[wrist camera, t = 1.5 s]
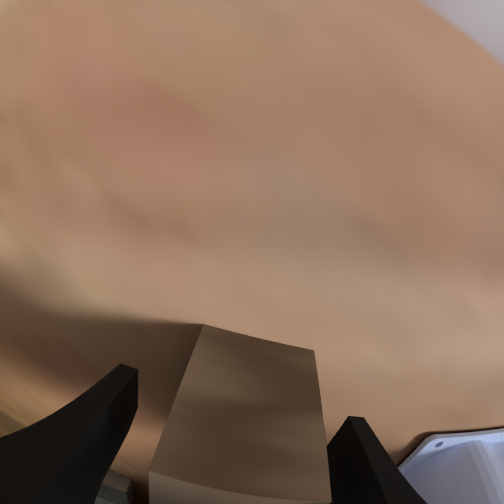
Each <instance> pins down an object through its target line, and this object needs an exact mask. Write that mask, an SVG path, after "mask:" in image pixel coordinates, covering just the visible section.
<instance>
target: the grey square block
mask: <svg viewBox="0 0 504 504" xmlns="http://www.w3.org/2000/svg"><path fill="white" fill-rule="evenodd" d="M97 496H98V497H100V498H102V499H105V500H107V501H109V502H112V503H114V504H131V503H132V500H133V490H132V481H131V479H129V478H126V477H124V476H121V475H119V474H116V473H114V472H111V471H109V470H108V472H107V474H106V475H105V477H104V480H103V482H102V484H101V486H100V489H99V492H98V495H97Z"/></svg>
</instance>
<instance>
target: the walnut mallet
mask: <svg viewBox="0 0 504 504" xmlns="http://www.w3.org/2000/svg"><path fill="white" fill-rule="evenodd" d="M331 502H332V499H331V488H330V477H329V467H328V457H327V448H326V439H325V430H324V421H323V413H322V405H321V397H320V390H319V382H318V375H317V368H316V361H315V354H314V350H309V349H305V348H300V347H295V346H290V345H286V344H281V343H277V342H273V341H268V340H264V339H260V338H255V337H251V336H247V335H243V334H239V333H235V332H231V331H227V330H224V329H220V328H216V327H212V326H209V325H205V324H203V327H202V329H201V332H200V335H199V337H198V340H197V342H196V345H195V348H194V350H193V353H192V355H191V358H190V361H189V363H188V366H187V368H186V371H185V374H184V376H183V379H182V382H181V384H180V387H179V389H178V392H177V395H176V397H175V400H174V403H173V405H172V408H171V411H170V413H169V416H168V419H167V422H166V424H165V427H164V430H163V432H162V435H161V438H160V441H159V443H158V446H157V449H156V452H155V454H154V457H153V460H152V463H151V465H150V468H149V504H330V503H331Z"/></svg>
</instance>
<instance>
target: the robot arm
mask: <svg viewBox="0 0 504 504" xmlns="http://www.w3.org/2000/svg"><path fill="white" fill-rule="evenodd" d="M137 408H138V369H135V368H132V367H130V366H127V365H124V364H119V365H118V366H117V367H115V368H114V369H113V370H112V371H111V372H110V373H108V374H107V375H106V376H105V377H104V378H102V379H101V380H100V381H99V382H97V383H96V384H95V385H94V386H92V387H91V388H90V389H88V390H87V391H86V392H84V393H83V394H81V395H80V396H79V397H77V398H76V399H75V400H73V401H72V402H70V403H69V404H67V405H65V406H64V407H62V408H61V409H59V410H58V411H56V412H54V413H53V414H51V415H49V416H48V417H46V418H44V419H42V420H40V421H38V422H36V423H34V424H32V425H30V426H28V427H26V428H24V429H21V430H19V431H17V432H14V433H12V434H9V435H6V436H4V437H0V504H94V503H95V500H96V497H97V495H98V492H99V489H100V486H101V484H102V482H103V480H104V477H105V475H106V474H107V472H108V470H109V468H110V466H111V464H112V462H113V460H114V458H115V456H116V455H117V453H118V451H119V449H120V447H121V445H122V443H123V441H124V439H125V437H126V435H127V433H128V432H129V429H130V426H131V424H132V421H133V419H134V416H135V413H136V411H137ZM326 448H327V457H328V467H329V477H330V488H331V499H332V502H331V503H330V504H504V428H502V429H495V430H487V431H478V432H467V433H453V434H435V435H431V436H429V437H427V438H426V439H425V440H424V441H423V442H422V443H421V444H420V445H419V446H418V447H417V448H416V449H415V451H414V452H413V453H412V454H411V455H410V456H409V457H408V458H407V459H406V460H405V461H404V462H403V463H402V464H401V465H400V466H399V467H398V468H397V466H396V465H395V464H394V462H393V461H392V459H391V458H390V456H389V455H388V453H387V452H386V450H385V449H384V447H383V446H382V444H381V443H380V441H379V440H378V438H377V437H376V435H375V434H374V432H373V430H372V429H371V427H370V426H369V424H368V423H367V421H366V420H365V418H364V417H354V416H348V417H347V419H346V420H345V422H344V423H343V425H342V426H341V427H340V429H339V430H338V432H337V433H336V434H335V436H334V437H333V439H332V440H331V441H330V443H329V444H328V445H327V447H326Z"/></svg>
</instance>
